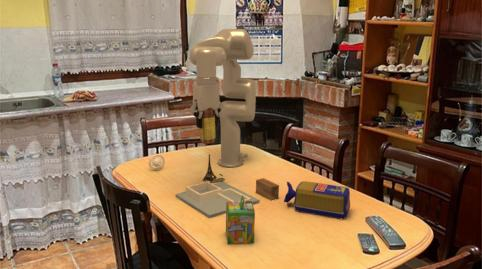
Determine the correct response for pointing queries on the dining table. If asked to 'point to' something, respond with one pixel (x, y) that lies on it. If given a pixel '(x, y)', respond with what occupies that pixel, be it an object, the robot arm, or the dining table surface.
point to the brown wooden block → (267, 189)
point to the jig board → (213, 197)
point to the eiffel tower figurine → (210, 175)
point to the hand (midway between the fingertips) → (206, 126)
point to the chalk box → (240, 222)
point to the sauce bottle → (208, 127)
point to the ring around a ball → (156, 162)
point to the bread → (320, 199)
